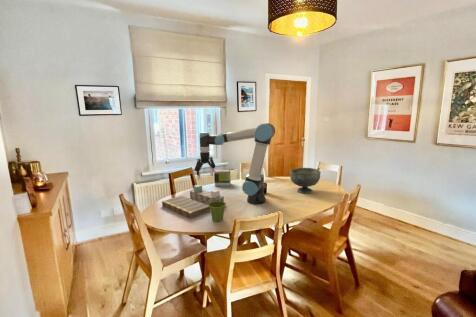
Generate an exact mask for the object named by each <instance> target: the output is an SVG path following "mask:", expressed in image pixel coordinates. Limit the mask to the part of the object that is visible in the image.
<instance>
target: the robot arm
mask: <svg viewBox="0 0 476 317" xmlns="http://www.w3.org/2000/svg"><path fill="white" fill-rule="evenodd" d="M275 134H276V128H275V126H274V125H273V124H271V123H267V122H266V123H260V124H259V125H258V126H256V127H254V128H247V129H242V130H236V131H231V132H225V133H224V132H222V133H220V134H210V133H209V132H208V131H201V132H200V133H199V156H200V158H197V159H196V160H197V161H196V164H195V167H194V172H196V176H197V177H196V178H197V180H201V171H200V170H201V169H202V167H203V165H205V164H207V165H208V166H209V167H210V168H209V171H210V173H209V174H210V176H211V177H214V172H215V170H214V169H215V168H216V164H215V161H214V158H213V156H211V155H210V154H211V153H210V145H213V146H222V145H224V143H230V142H231V143H232V142H237V141H244V140H249V139H250V140H251V139H254V140H253V141H254V143H255V146H254V149H253V154H252V157H251V162H250V167H249V171H248V174H246V175H245V179H244V182H243V183H242V185H241V190H242V191H243V193H244V194H245V195H247V199H246V201H247V203H249V204H252V205H261V204H265V203H266V202H267V199H266V195H265V191H264V190H265V185H264V184H265V182H264V180H265V177H264V174H263V173H262V168H263V165H264V161H265V157H266V153H267V150H268V149H267V148H268V146H269V145H270V144H271V141H272V138H273V137H274V136H275Z"/></svg>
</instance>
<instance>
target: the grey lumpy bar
mask: <svg viewBox="0 0 476 317" xmlns="http://www.w3.org/2000/svg"><path fill="white" fill-rule="evenodd" d="M189 199H192V200H195V201H197V202H200V203H203V204H206V205H208V204H209V203H210V202H213V201H223V202H225V195H220V196H219V197H216V198H214V197H211V191H208V190H205V189H202V191H200V192H195V191H194V189H192V190H189Z"/></svg>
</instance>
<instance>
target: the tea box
mask: <svg viewBox="0 0 476 317" xmlns="http://www.w3.org/2000/svg"><path fill="white" fill-rule="evenodd" d="M213 178H214V187H230V185H231V169H215V170H214V172H213Z"/></svg>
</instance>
